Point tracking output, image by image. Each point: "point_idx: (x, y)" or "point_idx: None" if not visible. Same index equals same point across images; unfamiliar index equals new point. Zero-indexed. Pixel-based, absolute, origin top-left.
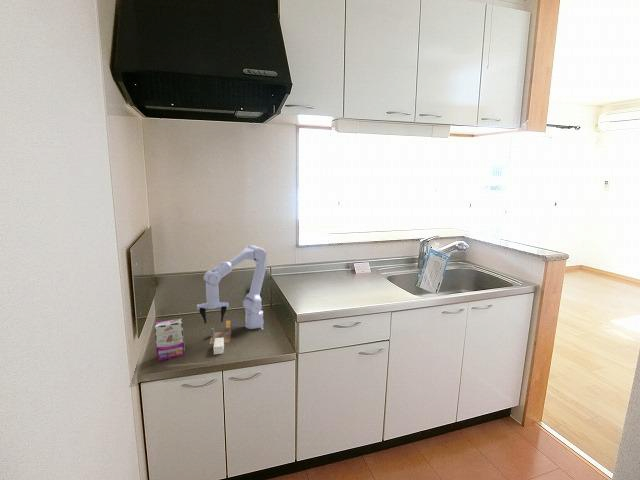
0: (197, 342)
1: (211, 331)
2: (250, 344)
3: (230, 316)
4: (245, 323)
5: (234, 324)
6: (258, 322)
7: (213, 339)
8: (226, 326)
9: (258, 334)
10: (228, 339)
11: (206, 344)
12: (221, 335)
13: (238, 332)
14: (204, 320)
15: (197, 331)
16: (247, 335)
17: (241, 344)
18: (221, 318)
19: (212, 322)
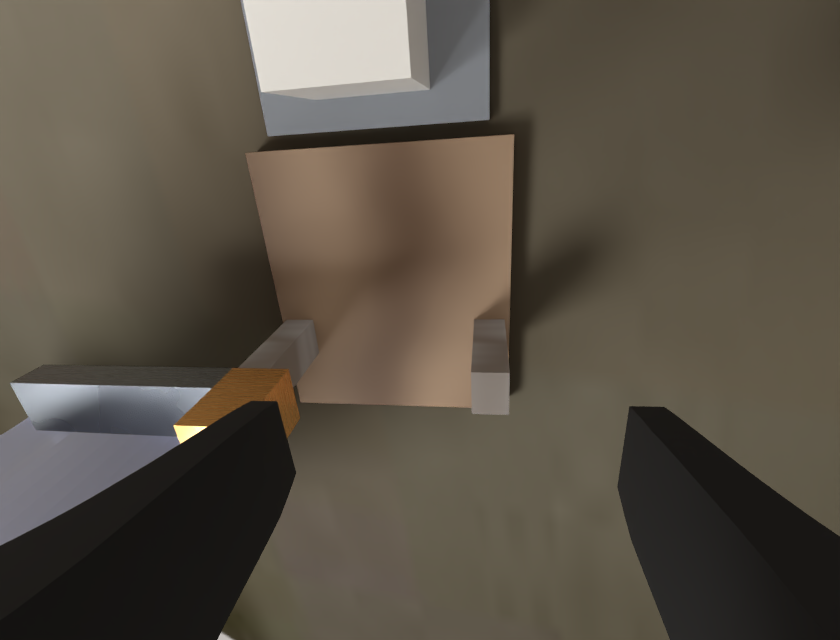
0: (678, 235)
1: (503, 355)
2: (22, 107)
3: (376, 632)
4: (24, 407)
5: (159, 406)
6: (5, 459)
7: (471, 251)
8: (271, 382)
9: (37, 319)
10: (286, 227)
11: (556, 167)
12: (388, 333)
13: None
14: (715, 453)
15: None
16: (133, 315)
17: (123, 118)
18: (200, 451)
19: (518, 587)
